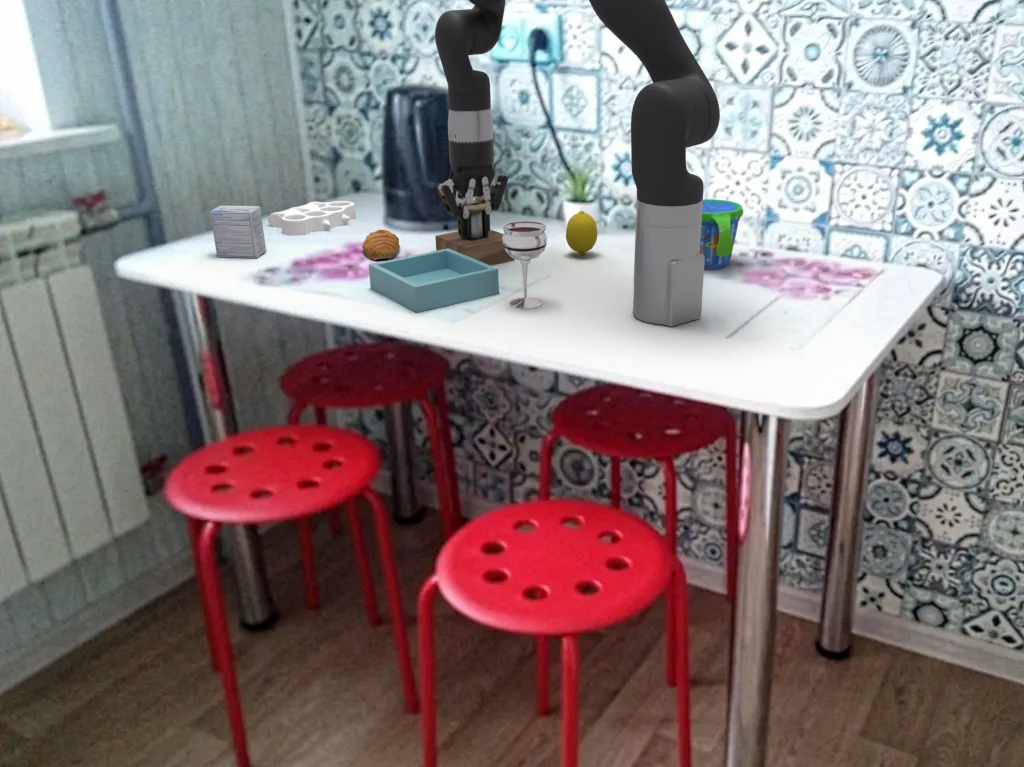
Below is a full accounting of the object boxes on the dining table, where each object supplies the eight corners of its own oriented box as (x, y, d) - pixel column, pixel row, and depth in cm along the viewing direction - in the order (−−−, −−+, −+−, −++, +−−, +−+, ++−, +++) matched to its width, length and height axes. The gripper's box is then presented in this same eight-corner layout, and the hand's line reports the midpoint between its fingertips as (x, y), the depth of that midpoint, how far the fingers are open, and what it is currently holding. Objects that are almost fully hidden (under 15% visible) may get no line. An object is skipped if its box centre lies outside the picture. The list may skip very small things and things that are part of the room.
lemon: (585, 261, 168) (586, 216, 165) (559, 256, 171) (559, 212, 168) (602, 254, 172) (603, 209, 169) (577, 249, 175) (577, 205, 172)
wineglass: (550, 297, 151) (550, 221, 146) (543, 311, 145) (542, 233, 140) (508, 295, 152) (506, 220, 148) (499, 309, 146) (497, 231, 141)
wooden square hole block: (514, 259, 170) (514, 237, 168) (466, 270, 165) (465, 247, 163) (483, 247, 178) (482, 226, 176) (436, 257, 172) (435, 235, 171)
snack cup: (667, 252, 172) (669, 196, 168) (725, 250, 173) (729, 194, 169) (686, 279, 158) (689, 218, 154) (749, 277, 158) (754, 215, 154)
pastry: (402, 261, 172) (400, 240, 170) (363, 264, 171) (361, 243, 169) (399, 247, 180) (397, 227, 178) (362, 249, 179) (360, 229, 178)
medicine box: (267, 252, 178) (261, 205, 174) (257, 259, 174) (250, 211, 170) (227, 251, 179) (220, 204, 176) (216, 257, 175) (209, 210, 172)
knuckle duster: (319, 212, 207) (371, 220, 200) (256, 231, 194) (309, 240, 186) (318, 196, 206) (370, 204, 198) (254, 214, 192) (307, 223, 185)
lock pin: (492, 259, 171) (490, 203, 167) (471, 263, 168) (469, 206, 164) (478, 253, 174) (477, 198, 170) (458, 258, 172) (455, 202, 168)
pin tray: (499, 293, 153) (498, 268, 152) (416, 312, 146) (415, 287, 144) (449, 271, 165) (448, 248, 163) (370, 288, 157) (368, 264, 155)
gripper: (446, 144, 156) (451, 248, 163) (517, 134, 163) (519, 234, 170) (423, 138, 162) (429, 238, 169) (493, 129, 169) (495, 225, 176)
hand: (474, 236), depth 169 cm, fingers closed on lock pin, 3 cm apart
